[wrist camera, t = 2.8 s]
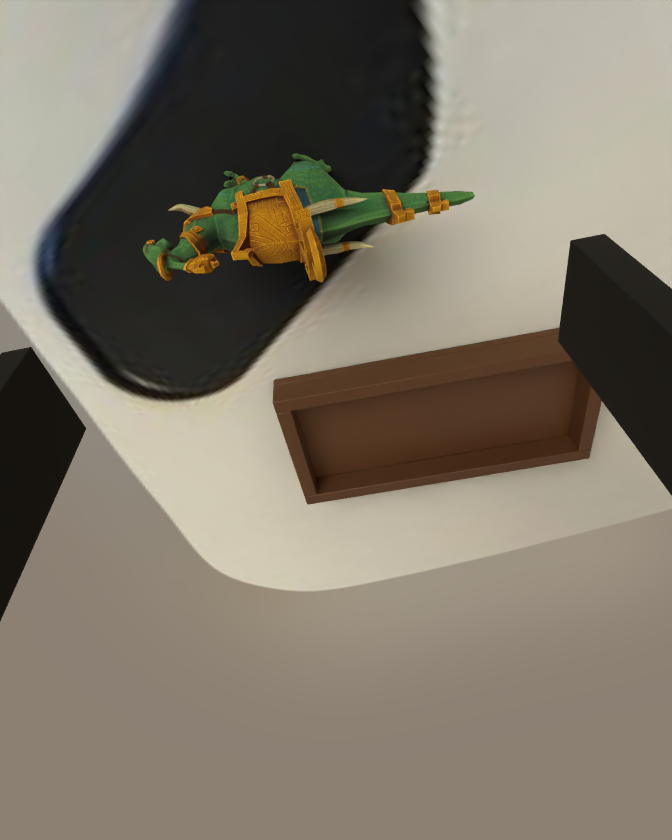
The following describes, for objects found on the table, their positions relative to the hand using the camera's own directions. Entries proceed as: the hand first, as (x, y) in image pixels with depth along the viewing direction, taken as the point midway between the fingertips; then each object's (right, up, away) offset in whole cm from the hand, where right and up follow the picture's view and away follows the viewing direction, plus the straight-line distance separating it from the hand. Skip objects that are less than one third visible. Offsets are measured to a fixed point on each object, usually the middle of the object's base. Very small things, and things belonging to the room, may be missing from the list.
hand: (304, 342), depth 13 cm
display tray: (+7, -1, +18) cm, 19 cm away
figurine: (-1, +8, +9) cm, 12 cm away
